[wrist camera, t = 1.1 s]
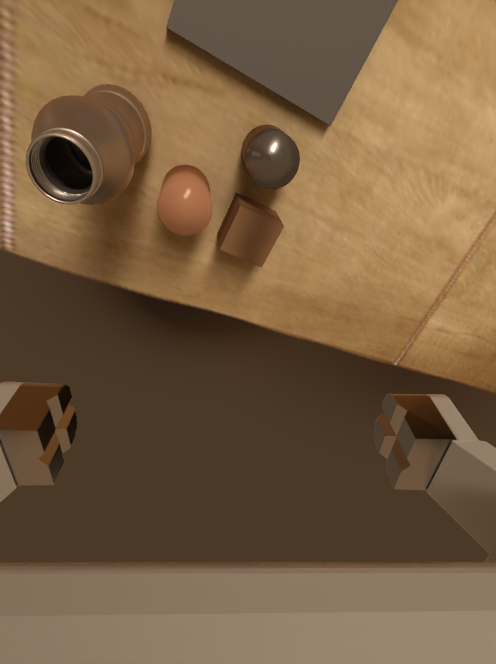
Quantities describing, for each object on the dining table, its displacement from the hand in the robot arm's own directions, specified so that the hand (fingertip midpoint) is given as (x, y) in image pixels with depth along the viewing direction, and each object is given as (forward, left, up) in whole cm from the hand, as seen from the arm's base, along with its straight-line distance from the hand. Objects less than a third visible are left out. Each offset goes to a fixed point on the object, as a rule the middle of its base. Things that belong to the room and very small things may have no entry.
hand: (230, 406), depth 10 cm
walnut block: (+7, -5, -36) cm, 37 cm away
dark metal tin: (+6, +3, -36) cm, 37 cm away
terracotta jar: (0, -4, -36) cm, 36 cm away
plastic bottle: (-8, -1, -36) cm, 37 cm away
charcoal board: (+2, +14, -36) cm, 39 cm away
